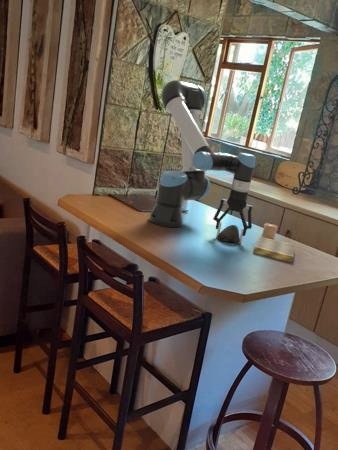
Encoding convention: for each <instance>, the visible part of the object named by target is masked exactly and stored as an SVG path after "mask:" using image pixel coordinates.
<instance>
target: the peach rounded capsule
mask: <svg viewBox="0 0 338 450" xmlns="http://www.w3.org/2000/svg"><path fill="white" fill-rule="evenodd" d="M278 228H279V227H278V226H277V225H276V224H273V223H268V222H267V223H264V226H263V230H262V233H261V237H264V238H268V239H272V240H275V239H276V235H277V231H278Z"/></svg>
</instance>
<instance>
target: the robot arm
mask: <svg viewBox="0 0 338 450" xmlns="http://www.w3.org/2000/svg"><path fill="white" fill-rule="evenodd" d="M160 98H161V102H162V105H163V107H164V109H165V111H166V112H167V113H169V114H170V115H171V117H172V118H173V119H172V120H174V123H175V124H176V126H177V128H178V129H179V131H180V134H181V154H182V157H181V158H182V169H181V170H180V171H179V170H166V171H163V172H161V173H162V174H161V175H160V179H159V182H158V183H159V184H158V190H157V196H156V203H155V205H154V206H153V209H152V210H151V213H150V215H149V221H150V222H151V223H154V224H155V225H159V226H162V227H166V228H180V227H182V225H183V213H182V205H183V201H198V200H202V199H205V198H206V197H207V195H208V194H209V192H210V190H211V181H210V179H209V178H208V176H206V174H205V172H207V171H212V172H213V171H214V172H215V171H217V172H226V173H231V174H233V177H232V178H233V179H232V183H231V189H230V191H229V196H228V199H225V198H221V200H220V204H219V206H218V208H217V210H216V212H215V214H214V216H213V219H212V220H214V221H215V222H216V225H215V230H217V231H216V236H215V238H217V236H218V235H219V233H220V232H221V228H222V220H223V219H224V217H226V215H227V214H228V213H229V212H230V211H233V212H237V213H238V214H239V215H240V219H241V222H242V228H241V232H240V234H239V238H240V241H239V244H241V243H242V239H243V237H245V236H246V234H247V230H249V229H250V230H251V229H252V226H253V225H252V210H253V208H254V207H253V205H251V204H250V205H249V204H247V200H248V196H249V191H250V187H251V183H252V179H253V178H252V177H253V174H254V171H255V167H256V166H255V165H256V160H257V157H256V156H255V155H254V154H251V153H246V152H239V153H238V155H234V154H231V153H227V152H224V151H223V152H222V151H218V152H214V151H213V150H212V148H211V146H210V145H209V143H208V142H207V140H206V138H205V136H204V135H203V133H202V131H201V128H200V115H201V114H202V112H203V109H204V108H205V105H206V104H207V94H206V91H205V89H204V88H203V87H202V86H201V85H198V84H196V83H191V82H186V81H183V80H177V79H176V80H175V79H174V80H170V81H168V82H167V83H166V84H165V85H164V86H163V88H162V91H161V96H160ZM226 204H227V206H228V208H226V209H225V211H224V212H223V213H222V214H221V215H220V213H221V211H222V209H223V207H224V205H226ZM245 208H246V210H247V221H246V218H245V213H244V209H245ZM219 215H220V216H219ZM247 222H248V224H247Z"/></svg>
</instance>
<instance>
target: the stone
mask: <svg viewBox="0 0 338 450" xmlns="http://www.w3.org/2000/svg"><path fill="white" fill-rule="evenodd" d="M216 239H217V240H218V241H220V242H230V243H234V244H236V243H237V244H236V245H238V244H240V243H239V241H240V232H239V228H238V226H237V225H235V224H231V225H228V226H226V227H225V228H224V229H223V230H220V233H219V235H218V236H217V237H216Z"/></svg>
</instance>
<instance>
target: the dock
mask: <svg viewBox="0 0 338 450" xmlns="http://www.w3.org/2000/svg"><path fill="white" fill-rule="evenodd" d="M252 252H253V254H257V255H258V254H259V255H260V256H261V255H262V256H265V257H269V258H273V259H277V260H280V261H283V262H284V261H285V262H289V263H292V262H293V260H294V256H295V245H294V244H291V243H287V242H283V241H279V240H275V239H274V240H272V239H268V238H264V237H262V236H260V235H258V238H257V239H256V243H254V248H253V250H252Z"/></svg>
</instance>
